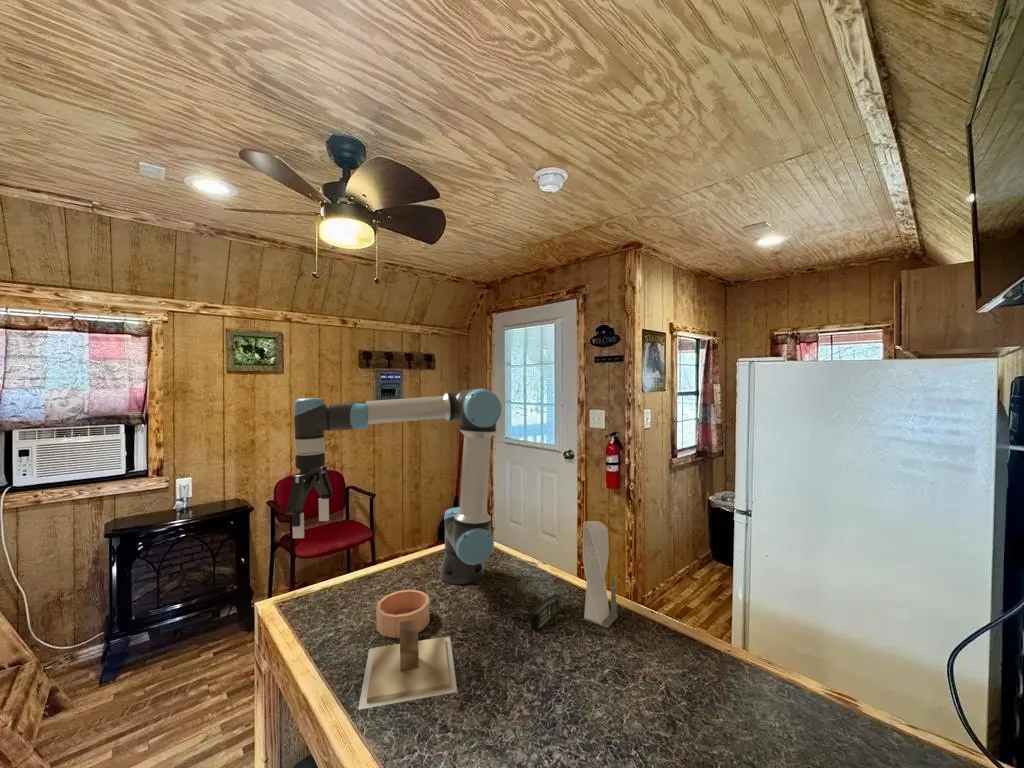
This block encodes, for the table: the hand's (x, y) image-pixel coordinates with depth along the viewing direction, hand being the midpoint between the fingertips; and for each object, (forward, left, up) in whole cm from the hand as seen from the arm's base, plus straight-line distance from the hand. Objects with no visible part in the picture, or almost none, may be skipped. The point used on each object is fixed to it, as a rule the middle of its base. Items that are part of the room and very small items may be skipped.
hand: (312, 528), depth 117 cm
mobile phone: (-64, +14, -27) cm, 71 cm away
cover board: (-27, +27, -26) cm, 46 cm away
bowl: (-25, +7, -26) cm, 37 cm away
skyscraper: (-78, +18, -27) cm, 84 cm away
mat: (-27, +27, -26) cm, 46 cm away
